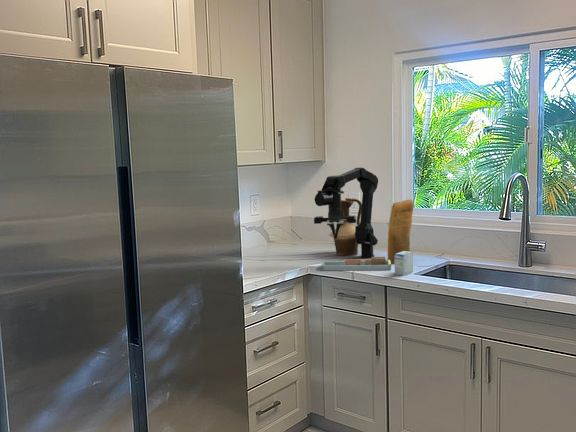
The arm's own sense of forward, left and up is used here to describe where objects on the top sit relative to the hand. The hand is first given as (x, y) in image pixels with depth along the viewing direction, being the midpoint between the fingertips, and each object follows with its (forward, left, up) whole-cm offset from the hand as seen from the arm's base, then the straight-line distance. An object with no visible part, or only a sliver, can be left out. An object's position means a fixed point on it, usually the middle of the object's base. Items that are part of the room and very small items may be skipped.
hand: (335, 238), depth 261 cm
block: (+7, +19, -12) cm, 24 cm away
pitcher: (-26, +4, -12) cm, 29 cm away
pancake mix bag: (-6, +29, -12) cm, 32 cm away
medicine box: (+19, +29, -12) cm, 37 cm away
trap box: (+5, +9, -12) cm, 16 cm away
